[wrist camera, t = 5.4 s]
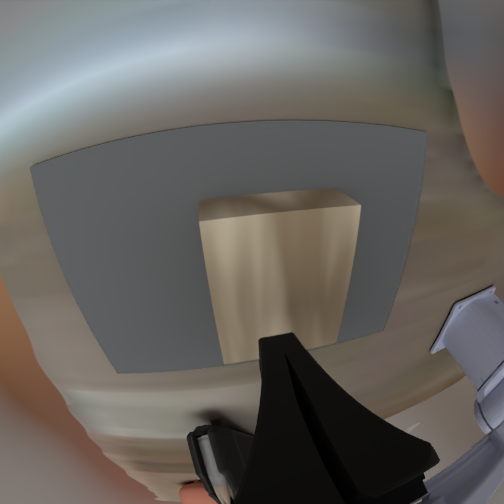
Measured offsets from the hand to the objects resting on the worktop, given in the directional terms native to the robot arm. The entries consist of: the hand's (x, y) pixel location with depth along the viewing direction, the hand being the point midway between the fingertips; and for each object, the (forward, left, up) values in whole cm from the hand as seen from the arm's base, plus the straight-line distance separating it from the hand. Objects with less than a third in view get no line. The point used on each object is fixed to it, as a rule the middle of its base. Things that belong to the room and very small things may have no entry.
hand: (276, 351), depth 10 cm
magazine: (+1, +29, -6) cm, 30 cm away
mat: (0, 0, -6) cm, 6 cm away
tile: (-5, 0, -4) cm, 6 cm away
